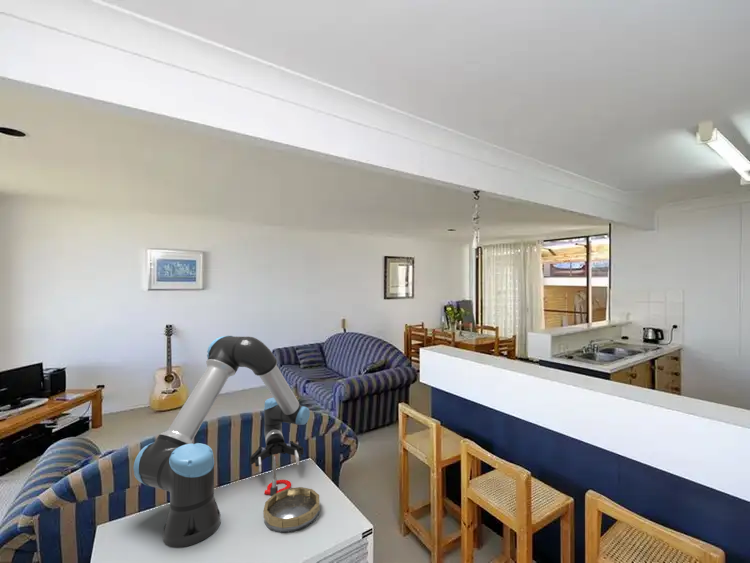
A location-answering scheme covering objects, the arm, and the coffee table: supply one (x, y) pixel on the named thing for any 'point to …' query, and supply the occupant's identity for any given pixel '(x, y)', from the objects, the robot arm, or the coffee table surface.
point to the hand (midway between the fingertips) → (279, 464)
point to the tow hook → (276, 482)
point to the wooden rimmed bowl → (291, 509)
